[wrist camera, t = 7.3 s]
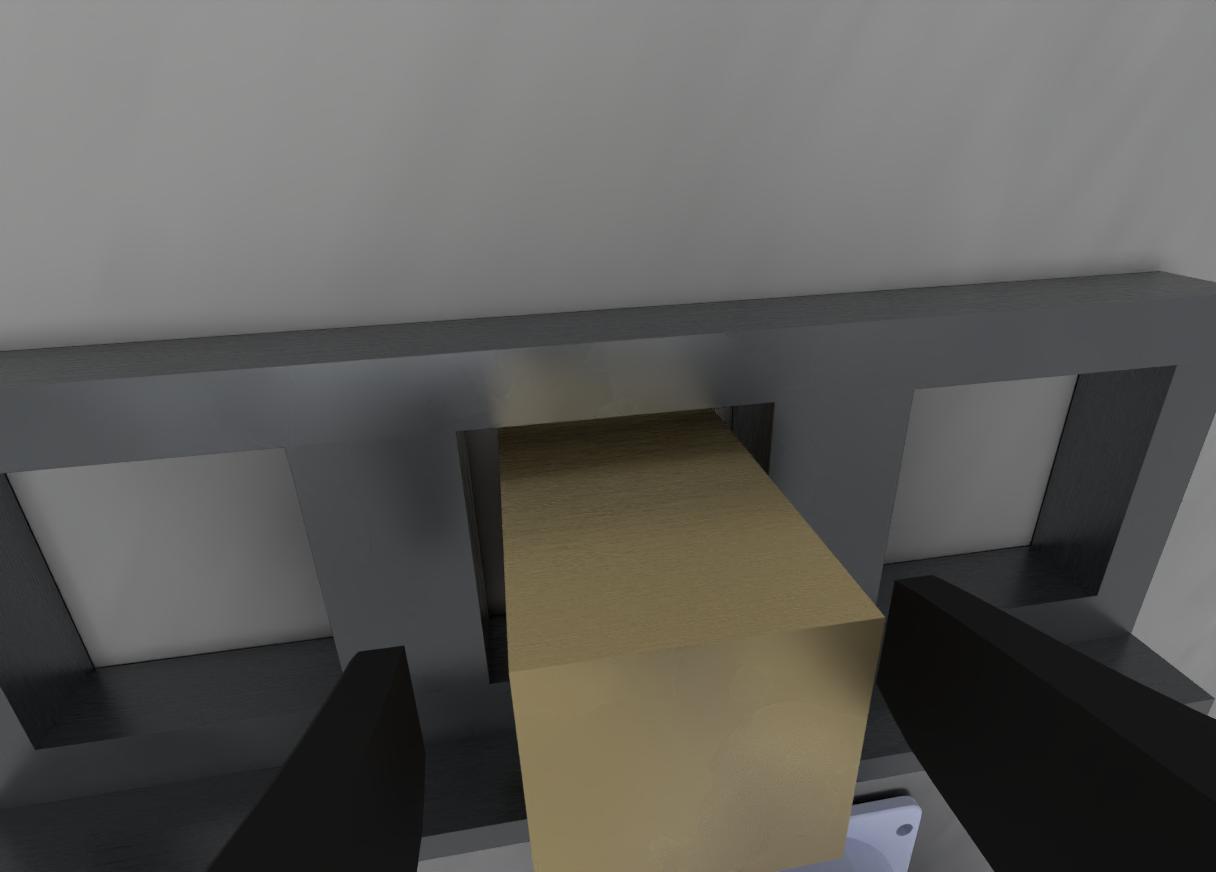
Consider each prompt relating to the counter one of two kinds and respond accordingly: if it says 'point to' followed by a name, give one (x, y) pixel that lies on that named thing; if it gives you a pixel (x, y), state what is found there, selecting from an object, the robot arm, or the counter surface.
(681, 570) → the brass peg
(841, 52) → the counter surface
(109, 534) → the counter surface
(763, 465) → the charcoal rail
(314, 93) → the counter surface
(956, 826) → the counter surface
